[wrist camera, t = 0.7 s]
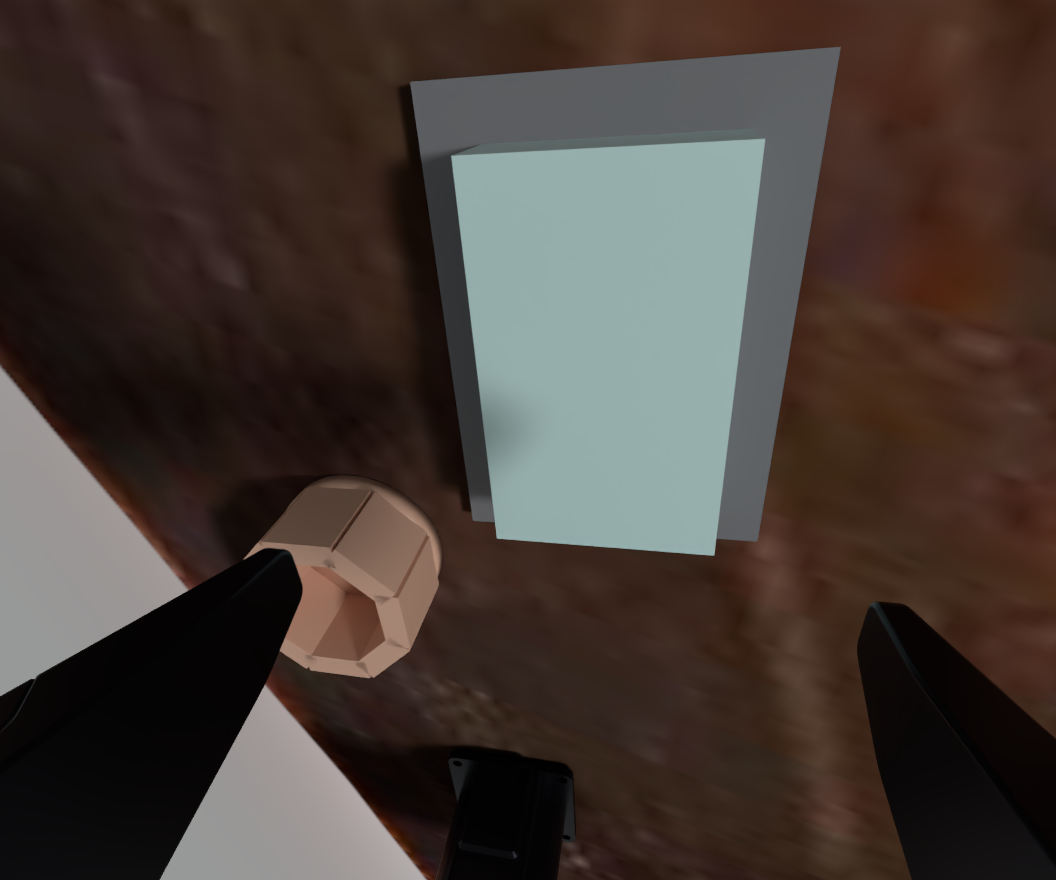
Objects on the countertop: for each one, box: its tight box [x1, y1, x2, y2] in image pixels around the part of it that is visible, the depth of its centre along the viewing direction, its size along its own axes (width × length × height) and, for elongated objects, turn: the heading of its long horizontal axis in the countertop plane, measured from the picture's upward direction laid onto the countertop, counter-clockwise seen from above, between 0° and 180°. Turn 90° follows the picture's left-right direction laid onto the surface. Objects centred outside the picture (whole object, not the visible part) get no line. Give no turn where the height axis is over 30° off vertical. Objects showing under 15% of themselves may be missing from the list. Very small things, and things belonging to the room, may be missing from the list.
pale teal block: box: [451, 129, 765, 556], centre depth 16 cm, size 11×7×3 cm, turn 4°
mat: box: [410, 47, 841, 541], centre depth 18 cm, size 14×10×1 cm
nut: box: [243, 475, 443, 678], centre depth 23 cm, size 7×7×4 cm
